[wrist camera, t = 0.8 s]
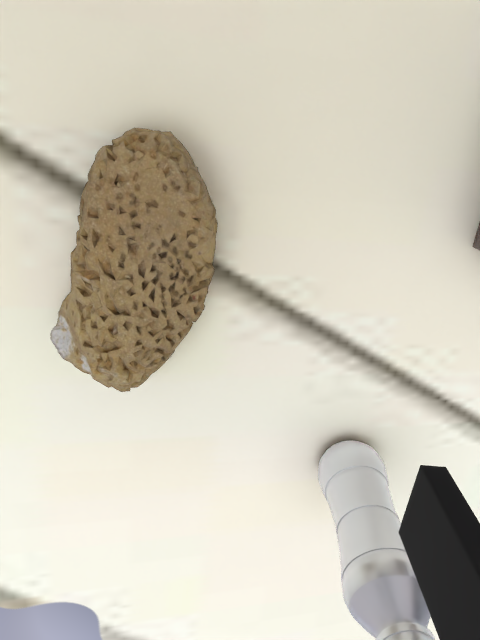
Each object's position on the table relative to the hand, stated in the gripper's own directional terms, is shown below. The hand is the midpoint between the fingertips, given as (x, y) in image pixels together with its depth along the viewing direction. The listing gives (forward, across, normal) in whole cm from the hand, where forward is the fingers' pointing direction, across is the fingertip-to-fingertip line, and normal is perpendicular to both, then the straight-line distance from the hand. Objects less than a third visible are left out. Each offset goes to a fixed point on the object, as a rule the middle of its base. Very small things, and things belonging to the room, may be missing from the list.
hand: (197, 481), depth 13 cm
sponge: (+27, -7, -1) cm, 28 cm away
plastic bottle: (+27, +14, -20) cm, 37 cm away
